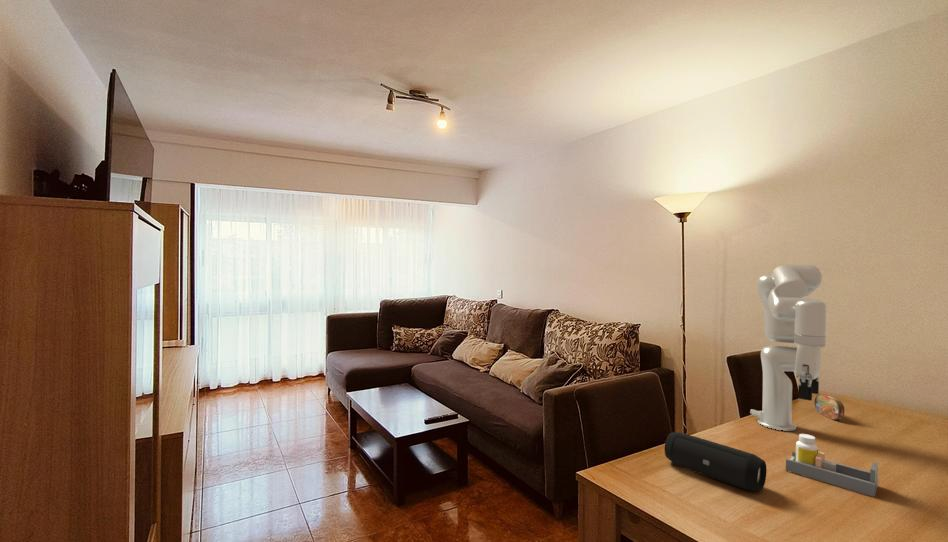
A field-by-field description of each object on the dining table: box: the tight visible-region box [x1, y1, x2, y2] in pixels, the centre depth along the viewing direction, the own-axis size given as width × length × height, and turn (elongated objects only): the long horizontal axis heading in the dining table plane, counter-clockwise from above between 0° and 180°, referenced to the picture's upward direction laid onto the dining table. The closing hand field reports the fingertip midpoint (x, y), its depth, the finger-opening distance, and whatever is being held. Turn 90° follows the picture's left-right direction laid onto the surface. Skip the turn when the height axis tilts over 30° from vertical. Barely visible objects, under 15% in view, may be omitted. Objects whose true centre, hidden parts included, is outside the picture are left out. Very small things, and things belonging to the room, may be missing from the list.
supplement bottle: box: [795, 433, 819, 466], centre depth 132 cm, size 5×5×10 cm
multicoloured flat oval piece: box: [814, 393, 845, 421], centre depth 181 cm, size 15×3×8 cm, turn 172°
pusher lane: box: [785, 451, 879, 498], centre depth 127 cm, size 20×9×7 cm, turn 42°
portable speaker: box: [664, 432, 768, 492], centre depth 128 cm, size 26×10×10 cm, turn 40°
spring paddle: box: [815, 451, 837, 472], centre depth 128 cm, size 4×6×5 cm, turn 132°
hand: (808, 396), depth 131 cm, fingers open, 9 cm apart
